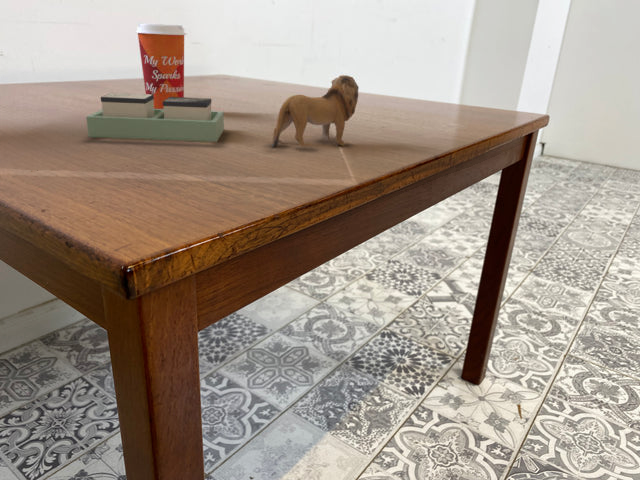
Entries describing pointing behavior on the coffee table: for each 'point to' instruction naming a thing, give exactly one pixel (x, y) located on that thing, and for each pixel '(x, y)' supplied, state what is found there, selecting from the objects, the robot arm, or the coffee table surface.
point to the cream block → (128, 105)
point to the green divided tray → (156, 127)
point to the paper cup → (162, 60)
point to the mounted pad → (187, 108)
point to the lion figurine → (319, 111)
